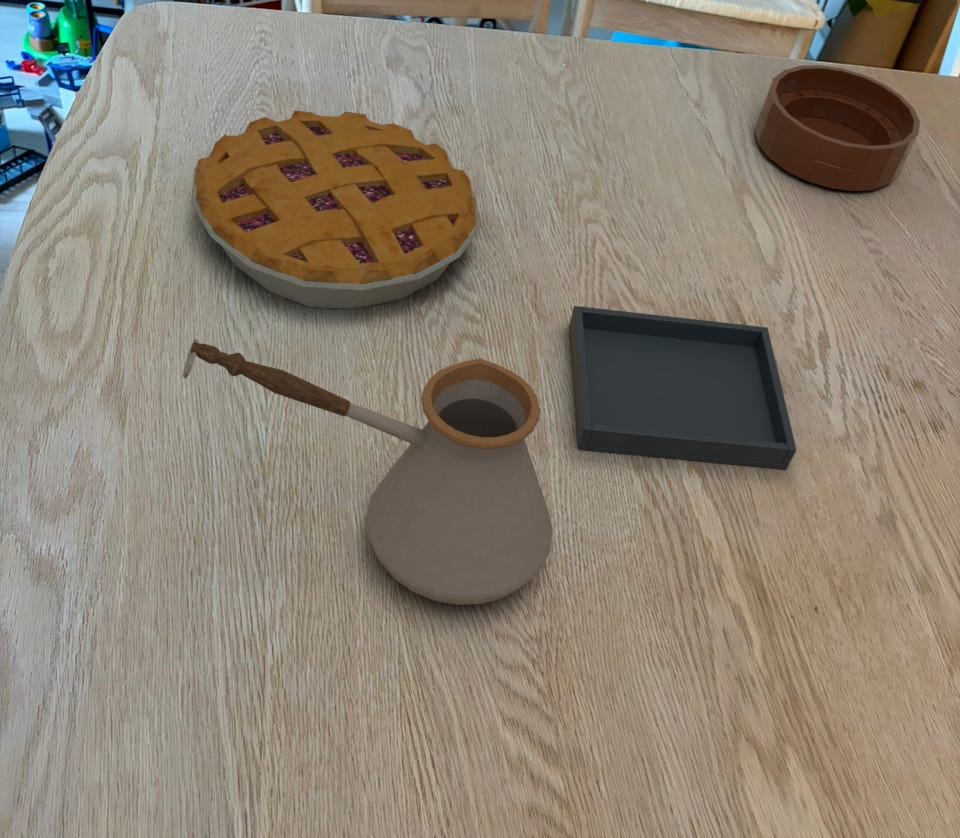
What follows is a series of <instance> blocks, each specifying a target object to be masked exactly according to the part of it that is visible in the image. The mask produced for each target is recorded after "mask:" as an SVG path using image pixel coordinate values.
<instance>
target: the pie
mask: <svg viewBox="0 0 960 838" xmlns="http://www.w3.org/2000/svg"><path fill="white" fill-rule="evenodd" d="M192 180H193V181H192V190H191V198H190V203H191V205H192V207H193V208H194V210H195V212H196V214H197V216H198V218H199V219H200V221H201V223H202V225H203V227H204V229H205V230H206V232H207V233H208V235H209V237H210V238H211V239H212V240H213V241H214V242H216V243H217V244H219V245H220V246H221V247H222V249H223V250H224V252H225V253H226V255H227V256H228V257H229V259H230V261H231V263H232V264H233V265H234V266H235V267H236V268H238V269H239V270H240V271H242V272H243V273H244V274H245V275H247V276H248V277H249V278H251V279H252V280H253V281H254V282H256V283H257V284H259V285H260V286H261V287H262V288H264V289H265V290H266V291H268V293H272V294H274V295H277V296H280V297H282V298H284V299H287V300H290V301H292V302H295V303H297V304H300V305H303V306H305V307H307V308H318V309H319V308H321V309H322V308H323V309H347V310H356V309H360V308H365V307H370V306H375V305H380V304H385V303H389V302H395V301H399V300H403V299H405V298H407V297H408V296H410V295H412V294H413V293H415V292H418V291H419V290H421V289H423V288H425V287H426V286H428V285H430V284H432V283H434V282H436V281H438V280H439V278H440V277H441V276H442V275H443V274H444V272H445V271H446V269H448V267H449V265H450V264H451V263H452V262H454V261H456V260H457V259H459V258H461V256H462V255H463V253H464V252H465V250H466V249H467V248H468V246H469V245H470V243H471V242H472V241H473V239H474V237H475V236H476V235H477V233H478V232H479V230H480V229H481V225H480V216H479V209H478V204H477V196H476V194H475V192H474V191H473V189H472V185H471V179H470V177H469V176H468V175H467V173H466V172H465V170H463V169H457V168H455V166H454V165H453V164H452V163H451V161H450V159H449V157H448V153H447V150H445V149H444V148H443V147H442V146H441V145H440V144H438V143H437V142H436V143H435V142H434V143H430V144H426V143H423V142H421V141H419V140H418V139H417V138H415V135H414V133H413V131H412V129H409V128H406V127H404V126H401V125H398V124H396V123H385V124H381V123H378V122H374V121H371V120H369V119H368V116H367V115H366V113H359V112H351V111H344V112H343V113H342V114H340V115H338V116H335V115H333V116H332V115H319V114H317V113H314V112H313V111H304V110H294V111H293V113H292V115H291V117H290V118H288V119H284V120H279V121H276V120H274V119H271V118H269V117H267V116H263V117H261V118H258V119H256V120H252V121H250V122H249V123H248V125H247V127H246V129H245V131H244V132H242V133H240V134H238V135H227V134H223V135H222V136H221V137H220V138H219V139H218V140H216V141H215V143H214V145H213V147H212V150H211V152H210V153H209V154H208V155H207V156H205V157H201V158H199V159H197V165H196V167H195V168H194V171H193V179H192Z"/></svg>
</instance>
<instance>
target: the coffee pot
mask: <svg viewBox="0 0 960 838" xmlns="http://www.w3.org/2000/svg"><path fill="white" fill-rule="evenodd" d="M196 357H197V358H199V359H200V360H202V361H203V362H206V363H207V364H210V365H218V366H220V367H223V368H225V370H226V371H227V372H228V374H229V375H230V376H231V377H238V376H241V375H242V376H243V377H245V378H247V379H249V380H251V381H252V382H254V383H256V384H258V385H260V386H261V387H263V388H265V389H267V390H268V391H270V392H272V393H273V394H276V395H279V396H282V397H284V398H288V399H290V400H294V401H296V402H299V403H302V404H306V405H309V406H312V407H315V408H316V409H317V408H318V409H321V410H324V411H325V412H330V413H332V414H335V415H338V416H341V417H348V418H350V419H352V420H354V421H357V422H359V423H361V424H364V425H366V426H368V427H371V428H373V429H375V430H377V431H380V432H382V433H384V434H387V435H389V436H392V437H395V438H397V439H399V440H401V441H403V442H406V443H409V445H408V446H407V447H406V449H405V450H404V451H403V453H402V454H401V455H400V457H398V459H397V461H395V463H394V464H393V466H391V468H390V469H389V470H388V471H387V473H386V474H385V475H384V476H383V478H382V479H381V481H380V482H379V483H378V485H377V487H376V488H375V489H374V491H373V493H372V494H371V496H370V499H369V503H368V507H367V510H366V515H365V520H366V521H365V522H366V529H367V530H366V531H367V538H368V541H369V543H370V546H371V547H372V549H373V552H374V553H375V555H376V558H377V559H378V561H379V562H380V564H381V565H382V566H383V568H385V570H386V571H387V572H388V573H389V574H390V576H392V578H393V579H394V580H395V581H397V582H398V583H400V584H401V585H402V586H404V587H405V588H407V589H408V590H409V591H411V592H413V593H415V594H417V595H420V596H422V597H425V598H427V599H429V600H432V601H435V602H440V603H446V604H451V605H457V606H462V605H483V604H486V603H489V602H494V601H498V600H501V599H503V598H505V597H507V596H509V595H511V594H512V593H514V592H516V591H518V590H520V589H521V588H523V587H524V586H525V585H527V584H528V583H529V582H530V581H531V580H532V579H533V578H534V577H535V576H536V575H537V573H539V572H540V571H541V569H542V568H543V566H544V564H545V562H546V560H547V558H548V556H549V554H550V552H551V548H552V539H553V525H552V522H551V517H550V511H549V509H548V506H547V503H546V499H545V497H544V493H543V491H542V488H541V484H540V482H539V479H538V476H537V473H536V470H535V466H534V463H533V460H532V458H531V455H530V454H531V453H530V452H529V449H528V446H527V442H526V440H525V439H526V438H527V437H528V436H529V435H530V434H532V432H533V431H534V430H535V428H536V426H537V425H538V423H539V421H540V415H541V406H540V403H539V399H538V396H537V394H536V393H535V391H534V390H533V388H532V386H531V385H530V384H529V383H528V382H527V381H526V380H525V379H523V378H522V377H521V376H520V375H518V374H516V373H514V372H513V371H512V370H510V369H507V368H505V367H504V366H502V365H499V364H497V363H494V362H493V361H492V362H491V361H489V360H486V359H483V358H475V359H470V360H469V359H468V360H465V361H462V362H461V361H460V362H457V363H454V364H451V365H448V366H446V367H443V368H441V369H440V370H438V371H437V372H435V373H434V374H433V375H431V377H430V378H429V379H428V381H427V382H426V384H425V385H424V387H423V389H422V393H421V399H420V400H421V405H422V411H423V414H424V416H425V417H426V420H427V422H426V423H425V425H424V426H423V428H419V427H417V426H415V425H411V424H408V423H405V422H403V421H400V420H399V419H395V418H392V417H390V416H388V415H384V414H382V413H379V412H377V411H373V410H371V409H368V408H365V407H363V406H360V405H358V404H355V403H352V402H351V401H350V400H348V399H346V398H344V397H341V396H340V395H337V394H335V393H333V392H331V391H328V390H327V389H326V388H325V389H324V388H323V387H321V386H318V385H316V384H314V383H312V382H309V381H308V380H306V379H303V378H302V377H298V376H297V375H295V374H292V373H290V372H288V371H286V370H283V369H280V368H276V367H272V366H267V365H264V364H260V363H255V362H253V361H247V360H246V359H245V357H244V355H243V354H242V353H241V352H234V353H230V354H228V353H226V352H223V351H221V350H220V349H219V348H218V347H216V346H215V345H210V344H206V343H203V342H202V343H200V342H199V339H196V338H194V339H193V341H192V344H191V346H190V349H189V350H188V354H187V357H186V360H185V363H184V367H183V371H182V378H184V379H188V377H189V376H190V373H191V371H192V368H193V367H194V362H195V360H196Z"/></svg>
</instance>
